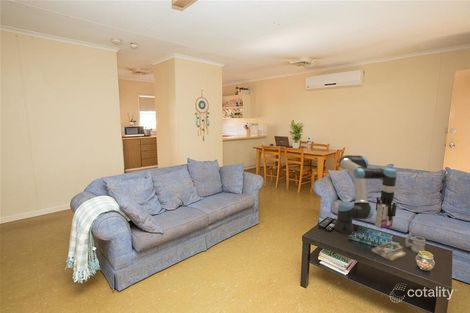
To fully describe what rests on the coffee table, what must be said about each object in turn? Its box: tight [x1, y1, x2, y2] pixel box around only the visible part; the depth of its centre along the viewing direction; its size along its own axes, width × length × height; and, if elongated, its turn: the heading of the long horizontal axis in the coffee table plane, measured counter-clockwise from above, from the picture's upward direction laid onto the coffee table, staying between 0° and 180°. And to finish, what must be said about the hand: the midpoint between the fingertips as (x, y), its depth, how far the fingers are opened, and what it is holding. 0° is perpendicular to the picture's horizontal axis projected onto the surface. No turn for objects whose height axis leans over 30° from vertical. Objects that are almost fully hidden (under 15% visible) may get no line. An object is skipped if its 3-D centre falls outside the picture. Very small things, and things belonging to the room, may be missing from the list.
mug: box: [404, 232, 426, 254], centre depth 176 cm, size 8×12×12 cm, turn 46°
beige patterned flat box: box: [371, 241, 407, 262], centre depth 172 cm, size 14×17×4 cm
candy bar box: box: [374, 202, 394, 230], centre depth 169 cm, size 11×5×16 cm, turn 112°
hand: (383, 223), depth 170 cm, fingers closed on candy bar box, 5 cm apart
